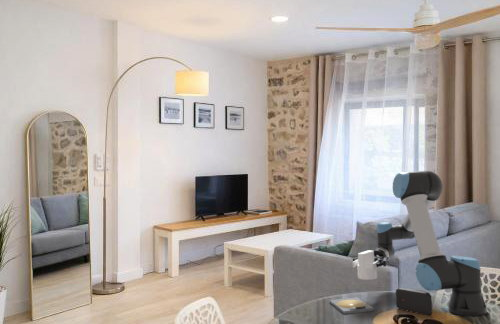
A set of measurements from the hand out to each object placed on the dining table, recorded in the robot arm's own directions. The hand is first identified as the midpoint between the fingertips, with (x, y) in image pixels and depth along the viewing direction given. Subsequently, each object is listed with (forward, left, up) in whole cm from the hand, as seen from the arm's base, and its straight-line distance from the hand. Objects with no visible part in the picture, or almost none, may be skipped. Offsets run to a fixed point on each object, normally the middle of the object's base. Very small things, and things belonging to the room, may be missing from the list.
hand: (363, 265), depth 225 cm
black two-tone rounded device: (-18, -15, -18) cm, 29 cm away
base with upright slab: (+3, -3, -7) cm, 8 cm away
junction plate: (-1, +7, -18) cm, 19 cm away
